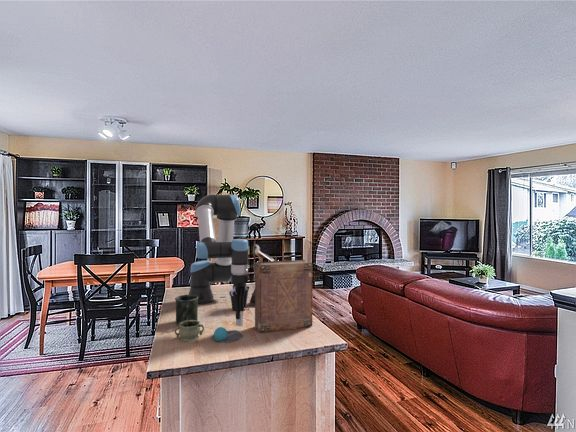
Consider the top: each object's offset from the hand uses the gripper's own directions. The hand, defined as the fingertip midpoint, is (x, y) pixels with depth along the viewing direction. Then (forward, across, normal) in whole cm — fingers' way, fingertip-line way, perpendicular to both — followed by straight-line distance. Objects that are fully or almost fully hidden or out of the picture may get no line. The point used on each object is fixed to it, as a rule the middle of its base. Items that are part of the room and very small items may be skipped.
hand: (239, 325), depth 154 cm
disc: (+2, -9, 0) cm, 9 cm away
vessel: (+2, -18, +13) cm, 22 cm away
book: (+2, +13, -16) cm, 21 cm away
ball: (-1, -14, 0) cm, 14 cm away
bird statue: (+2, +43, +12) cm, 45 cm away
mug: (+2, -4, +27) cm, 28 cm away
